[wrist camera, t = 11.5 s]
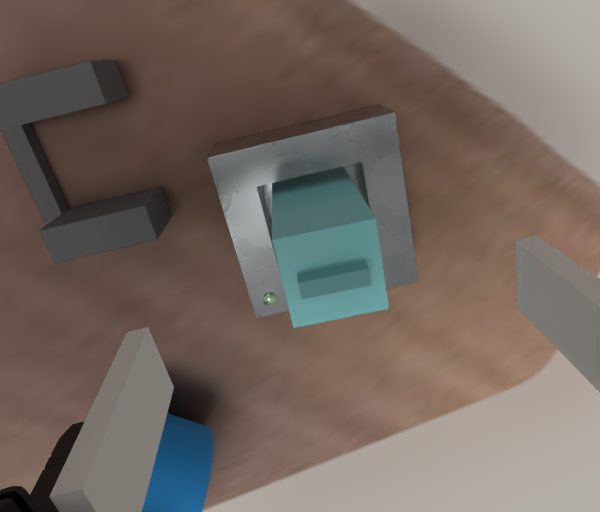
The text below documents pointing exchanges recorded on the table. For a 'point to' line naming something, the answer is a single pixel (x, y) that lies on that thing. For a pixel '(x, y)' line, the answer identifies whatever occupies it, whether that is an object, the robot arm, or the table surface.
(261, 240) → the port panel
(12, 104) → the grey u-shaped bracket
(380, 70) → the table surface
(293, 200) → the plug
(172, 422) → the alarm clock
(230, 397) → the table surface
